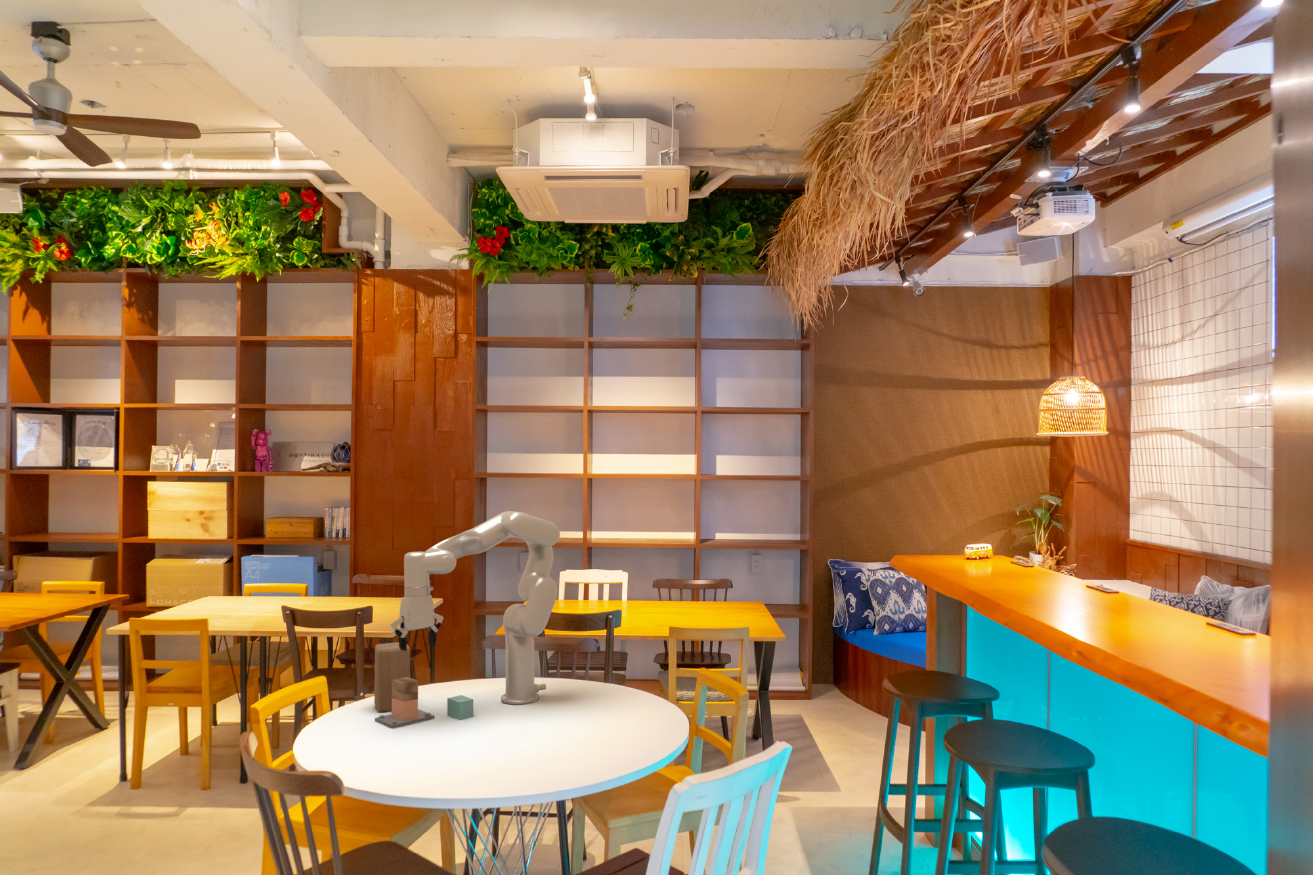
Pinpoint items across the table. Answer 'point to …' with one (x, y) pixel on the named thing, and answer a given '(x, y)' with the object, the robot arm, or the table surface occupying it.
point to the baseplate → (402, 723)
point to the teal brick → (460, 707)
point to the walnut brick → (404, 689)
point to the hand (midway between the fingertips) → (417, 647)
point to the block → (389, 672)
